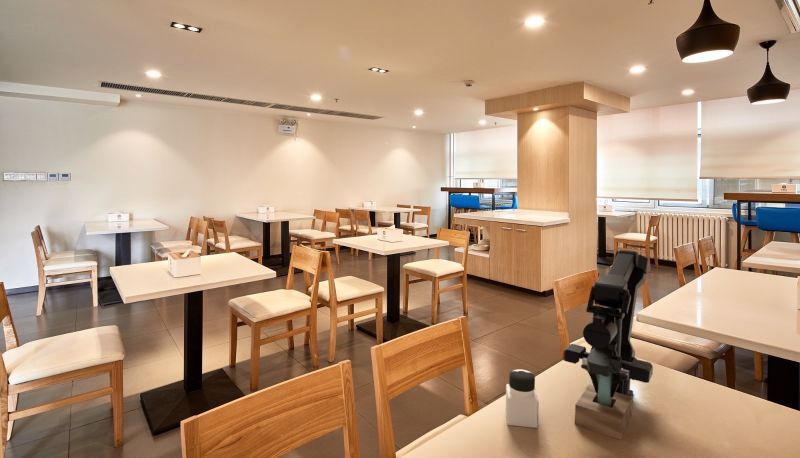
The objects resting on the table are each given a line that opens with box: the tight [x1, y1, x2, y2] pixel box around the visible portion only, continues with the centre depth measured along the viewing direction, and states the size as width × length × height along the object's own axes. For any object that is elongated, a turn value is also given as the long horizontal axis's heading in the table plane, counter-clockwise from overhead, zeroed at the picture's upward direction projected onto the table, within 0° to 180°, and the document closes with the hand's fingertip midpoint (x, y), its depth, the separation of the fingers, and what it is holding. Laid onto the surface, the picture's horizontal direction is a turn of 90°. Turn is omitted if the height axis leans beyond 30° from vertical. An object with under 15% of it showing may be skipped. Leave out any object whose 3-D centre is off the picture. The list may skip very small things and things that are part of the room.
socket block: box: [574, 383, 633, 441], centre depth 100 cm, size 12×10×5 cm
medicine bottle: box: [505, 369, 540, 429], centre depth 100 cm, size 7×7×12 cm
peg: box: [597, 372, 613, 407], centre depth 99 cm, size 3×3×9 cm
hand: (604, 394), depth 99 cm, fingers closed on peg, 3 cm apart
